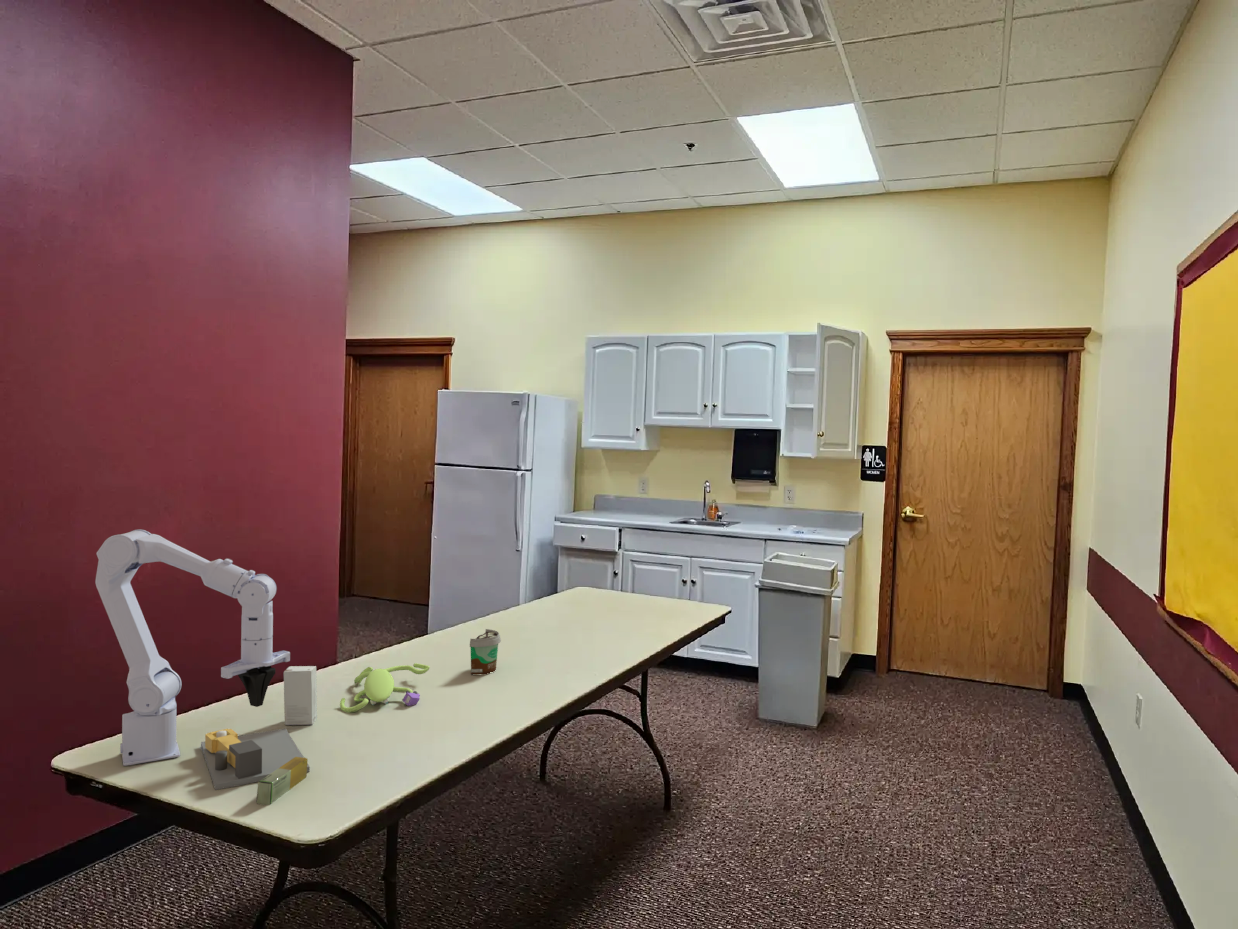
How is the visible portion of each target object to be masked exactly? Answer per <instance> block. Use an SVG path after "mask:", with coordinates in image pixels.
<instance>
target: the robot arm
mask: <svg viewBox="0 0 1238 929" xmlns="http://www.w3.org/2000/svg"><path fill="white" fill-rule="evenodd" d="M96 556H97V559H98V562H97V569H96V574H95V580H94V582H95V586H96V589H97V591H98V594H99V597H100V599H101V602H102V604H103V607H104V609H105V612H106V614H107V616H108V619H109V621H110V624H111V626H112V629H113V631H114V633H115V636H116V639H117V641H118V643H119V646H120V648H121V650H122V653H123V656H124V659H125V661H126V663H127V665H128V670H129V671H128V674H127V679H126V685H127V688H128V699H127V701H128V704H129V707H130V709H132V710H133V711H131V712H128V713H123V714H122V717H121V718H122V720H121V727H122V728H121V738H122V739H121V743H120V744H119V745H120V748H119V751H120V754H121V756H122V766H124V767H125V766H132V765H137V764H143V763H150V762H155V761H162V760H167V759H173V758H179V757H180V756H181V752H180V749H179V744H178V741H177V706H178V705H177V701H176V697H177V696H178V695H179V693H180V692H181V689H182V679H181V677H180V675H179V674H178V673H177V672H176V671H175V670H173V669H172V667H171V664H170V663H169V661H168V660H166V659H165V658H163V657H162V656H161V655H160V654H159V652H158V649H157V646H156V643H155V642H154V639H153V636H152V634H151V631H150V629H149V626H148V624H147V622H146V620H145V617H144V614H143V611H142V609H141V606H140V604H139V602H138V599H137V597H136V594H135V591H134V588H133V586H132V584H131V581H132V580H133V578H134V576H135V575H136V573H137V571H138V569H139V568H140V567H141V566H142V565H144V564H146V563H147V564H148V563H155V562H156V563H157V562H161V563H164V564H166V565H169V566H173V567H174V568H178V569H180V570H182V571H185V572H188V573H191V574H194V575H196V576H199V577H200V578H201V581H202V582H203V583H202V584H203V585H204V586H206V587H208V588H209V589H212V590H215V591H216V592H220V593H221V594H224V595H226V596H228V597H231V598H233V599H237V601H238V603H239V604H240V606H241V627H240V629H241V633H240V634H241V636H240V637H241V639H240V646H241V647H240V659H237V661H234V662H232V663H229V664H228V665H225V666H222V667H220V677H221V678H223V679H233V677H234V676H238V677H239V679H240V680H241V683H242V684H243V686H244V689H245V691H246V694H247V697H248V701H249V704H250V706H251V707H255V708H258V707H261V706H263V704H264V700H265V697H266V693H267V690H268V688H269V686H270V683H271V681H272V680H273V678H274V676H275V675H276V667H272V666H273V665H277V664H280V663H288V662H290V661H291V652H290V651H288V650H279V651H276V652H273V648H274V647H273V640H274V639H273V638H274V637H273V636H274V627H273V626H274V613H273V606H274V605H273V600H272V599H273V598H274V597H275V595H276V594H277V590H278V587H277V584H276V582H275V580H274V579H273V578H272V577H270V576H269V575H268V574H266V573H257V574H256V571H255V570H253V569H249V570H248V569H244V568H242V567H240V566H238V565H236V564H233V563H234V561H233V559H231V558H225V559H224V560H223V559H221V558H218V559H215V560H211V561H210V560H208V559H206V558H204V557H202V556H200V555H198V554H197V553H194V552H192V551H190V550H188V549H186V548H184V547H182V546H180V545H178V544H176V543H174V542H172V541H170V540H169V539H166V538H165V537H163V536H161V535H159V534H156V533H151V532H149V531H147V530H145V529H134V530H131V531H129V532H126V533H121V534H114V535H111V536H109V537H108V538H106V539H105V540H104V542H103V543H102V545H101V546H100V547H99V549H98V550H97V551H96Z"/></svg>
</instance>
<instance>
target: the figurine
mask: <svg viewBox="0 0 1238 929" xmlns="http://www.w3.org/2000/svg"><path fill="white" fill-rule="evenodd" d="M430 668H431V667H430V665H426V664H422V663H416V662H415V663H414V664H413V665H408V664H407V665H405V664H404V665H396V666H391V667H387V668H375V669H374V668H373V667H372V666H368V667H366V668H364V669H363V670H362V671H361V672H360V674H359V675H358V676H357V677H355V679H354V680H353V681H354V683H355V684H358V683H359V684H360V683H362V681H363V680H364V679H365V680H364V683H363V685H364V686H363V687H364V688H363V689H362V690H360V691H359V692H357V693H356V695H354V697H353V701H354V702H360V703H358V704H356V705H354V706H351V707H347V706H346V705H345V703H346V698H345V697H342V698H341V699H340V702H339V707H340V709H341V711H342V712H345V713H354V712H358V711H359V710H361V709H363V708H365V707H366V706H367V705H368V703H369V702H370V704H371V705H373V706H374V705H376V704H377V703H383V704H388V703H389V698H390V696H391V695H392V694H393V692H394V693H395V692H396V693H397V692H398V693H401V692H402V693H403V692H404V693H405V695H404V696H403V698H402V699H401V701H402V702H403V703H405V705H407V706H408V707H409V706H411V707H412V706H414V705H417V704H418V702H419V701H420V700H421V698H420V696H421V694H420V693H418V692H417V691H416V690H414V691H413V690H412V689H411V688H409V687H401V686H399V687H398V686H395V680H394V677H393V676H392V674H391V673H392V672H397V671H408V672H409V671H410V672H412V673H413V674H415V675H424V674H426V673H427V672H428V671H429V670H430ZM364 695H366V696H367V698H364V697H363V698H361V697H362V696H364ZM368 698H369V699H368ZM369 700H370V701H369Z"/></svg>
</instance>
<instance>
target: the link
mask: <svg viewBox="0 0 1238 929" xmlns="http://www.w3.org/2000/svg"><path fill="white" fill-rule="evenodd" d="M218 731H227V736H223V737H218V738H216V733H217V732H218ZM204 735H205V737H204V739H205V740H204V741H205V748H206V749H208V750H209V751H210V752H211V753H216V752H217V751H221V750H225V751H227V762H228V763H230V764H231V765H232V766H233V767H234V768H235V755H234V754H233V753H232V752H230V751H229V745H231V744H236V743H240V742H241V741H240V740H238V736H239V734H238V733H237V732H236V731H235V730H233V729H232V728H224V729H219V730H215V731H210V732H207V733H205V734H204Z"/></svg>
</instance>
